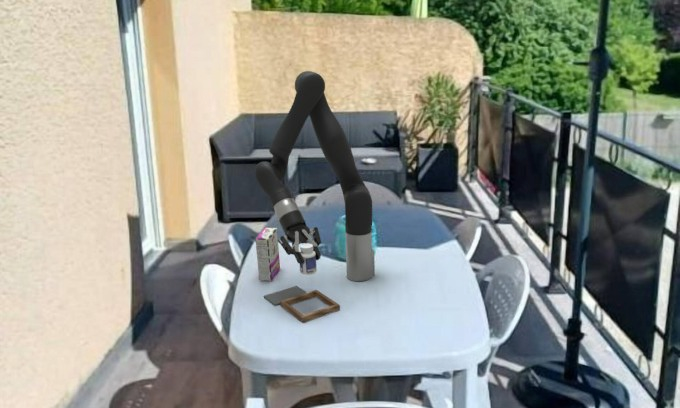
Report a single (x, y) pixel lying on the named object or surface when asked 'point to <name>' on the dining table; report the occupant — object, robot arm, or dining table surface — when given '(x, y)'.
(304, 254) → the pill bottle
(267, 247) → the candy bar box
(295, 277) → the dining table surface
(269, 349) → the dining table surface
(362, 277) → the robot arm
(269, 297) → the charcoal mat
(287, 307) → the walnut frame
